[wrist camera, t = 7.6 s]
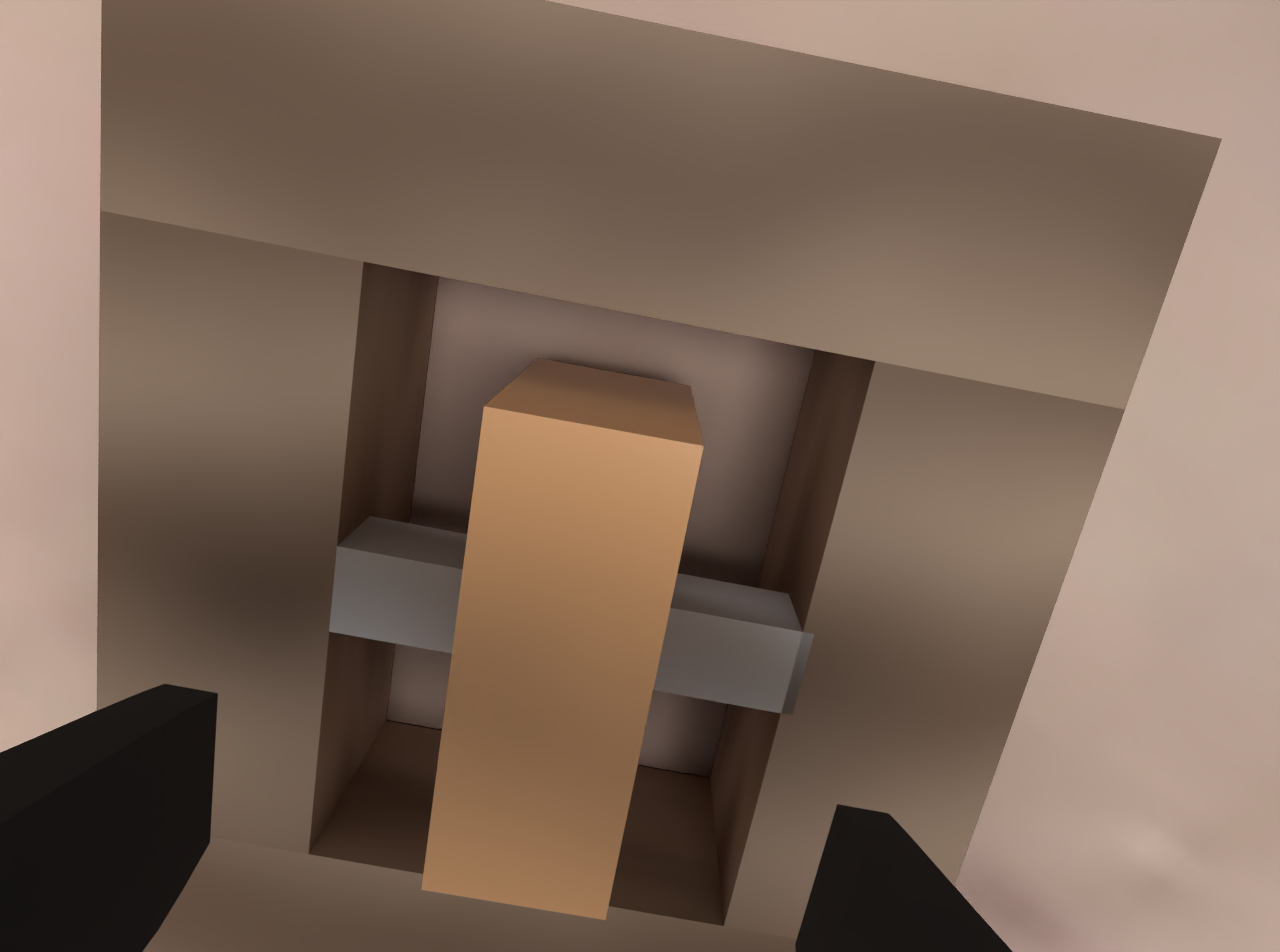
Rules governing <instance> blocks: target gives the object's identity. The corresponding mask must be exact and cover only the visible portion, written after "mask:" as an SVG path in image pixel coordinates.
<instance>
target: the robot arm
mask: <svg viewBox="0 0 1280 952" xmlns="http://www.w3.org/2000/svg"><path fill="white" fill-rule="evenodd" d="M217 703H218V693H214V692H209V691H203V690H198V689H192V688H187V687H181V686H175V685H170V684H162V685H160V686H157V687H154V688H151V689H149V690H146V691H143V692H141V693H138V694H136V695H133V696H131V697H128V698H126V699H124V700H121V701H119V702H116V703H114V704H112V705H109V706H107V707H105V708H102V709H100V710H98V711H95V712H93V713H91V714H88V715H86V716H84V717H82V718H79V719H77V720H75V721H72V722H70V723H68V724H66V725H63V726H61V727H59V728H56V729H54V730H52V731H50V732H47V733H45V734H43V735H40V736H38V737H36V738H33V739H31V740H29V741H27V742H24V743H22V744H20V745H17V746H15V747H13V748H10V749H8V750H6V751H3V752H1V753H0V952H143V950H144V949H145V948H146V946H147V945H148V944H149V942H150V941H151V940H152V938H153V937H154V935H155V934H156V933H157V931H158V930H159V928H160V927H161V925H162V923H163V922H164V920H165V918H166V917H167V915H168V913H169V912H170V910H171V909H172V907H173V905H174V904H175V902H176V900H177V899H178V897H179V895H180V894H181V892H182V891H183V889H184V887H185V885H186V884H187V882H188V880H189V878H190V877H191V875H192V873H193V871H194V870H195V868H196V866H197V864H198V863H199V861H200V859H201V857H202V856H203V854H204V852H205V851H206V849H207V847H208V845H209V844H210V833H211V815H212V796H213V777H214V759H215V740H216V721H217ZM795 949H796V952H1012V951H1011V949H1010V948H1009V947H1008V946H1007V945H1006V944H1005V943H1004V942H1003V941H1002V939H1001V938H1000V937H999V936H998V935H997V934H996V933H995V932H994V931H993V930H992V928H991V927H990V926H989V925H988V924H987V923H986V922H985V921H984V919H983V918H982V917H981V916H980V915H979V914H978V913H977V911H976V910H975V909H974V908H973V907H972V906H971V905H970V904H969V902H968V901H967V900H966V899H965V898H964V897H963V896H962V894H961V893H960V892H959V891H958V890H957V889H956V888H955V886H954V885H953V884H952V883H951V882H950V881H949V880H948V878H947V877H946V876H945V875H944V874H943V873H942V872H941V870H940V869H939V868H938V867H937V866H936V865H935V864H934V862H933V861H932V860H931V859H930V858H929V857H928V856H927V854H926V853H925V852H924V851H923V850H922V849H921V848H920V847H919V845H918V844H917V843H916V842H915V841H914V840H913V839H912V838H911V836H910V835H909V834H908V833H907V832H906V831H905V830H904V829H903V828H902V827H901V825H900V824H899V823H898V822H897V821H896V820H895V819H894V818H893V817H892V816H891V815H890V814H889V813H884V812H879V811H873V810H868V809H862V808H857V807H851V806H845V805H840V804H837V806H836V810H835V813H834V816H833V820H832V823H831V826H830V830H829V833H828V836H827V840H826V843H825V846H824V850H823V853H822V856H821V860H820V863H819V866H818V870H817V873H816V876H815V880H814V883H813V886H812V890H811V893H810V896H809V900H808V903H807V907H806V910H805V913H804V917H803V920H802V923H801V927H800V930H799V933H798V937H797V940H796V943H795Z"/></svg>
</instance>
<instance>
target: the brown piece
mask: <svg viewBox="0 0 1280 952" xmlns="http://www.w3.org/2000/svg"><path fill="white" fill-rule="evenodd" d="M1221 140H1222V139H1220V138H1215V137H1210V136H1205V135H1200V134H1195V133H1190V132H1186V131H1181V130H1176V129H1171V128H1166V127H1161V126H1156V125H1151V124H1146V123H1142V122H1137V121H1132V120H1127V119H1122V118H1117V117H1112V116H1107V115H1102V114H1097V113H1093V112H1088V111H1083V110H1078V109H1073V108H1068V107H1063V106H1058V105H1053V104H1049V103H1044V102H1039V101H1034V100H1029V99H1024V98H1019V97H1014V96H1009V95H1005V94H1000V93H995V92H990V91H985V90H980V89H975V88H970V87H965V86H961V85H956V84H951V83H946V82H941V81H936V80H931V79H926V78H921V77H917V76H912V75H907V74H902V73H897V72H892V71H887V70H882V69H877V68H873V67H868V66H863V65H858V64H853V63H848V62H843V61H838V60H833V59H829V58H824V57H819V56H814V55H809V54H804V53H799V52H794V51H789V50H784V49H780V48H775V47H770V46H765V45H760V44H755V43H750V42H745V41H740V40H736V39H731V38H726V37H721V36H716V35H711V34H706V33H701V32H696V31H692V30H687V29H682V28H677V27H672V26H667V25H662V24H657V23H652V22H648V21H643V20H638V19H633V18H628V17H623V16H618V15H613V14H608V13H604V12H599V11H594V10H589V9H584V8H579V7H574V6H569V5H564V4H560V3H555V2H550V1H545V0H102V31H101V180H100V328H99V477H98V626H97V711H98V710H100V709H102V708H105V707H107V706H109V705H112V704H114V703H116V702H119V701H121V700H124V699H126V698H128V697H131V696H133V695H136V694H138V693H141V692H143V691H146V690H149V689H151V688H154V687H157V686H160V685H162V684H170V685H175V686H181V687H187V688H192V689H198V690H203V691H209V692H214V693H218V703H217V721H216V740H215V759H214V777H213V796H212V815H211V833H210V844H209V845H208V847H207V849H206V851H205V852H204V854H203V856H202V857H201V859H200V861H199V863H198V864H197V866H196V868H195V870H194V871H193V873H192V875H191V877H190V878H189V880H188V882H187V884H186V885H185V887H184V889H183V891H182V892H181V894H180V895H179V897H178V899H177V900H176V902H175V904H174V905H173V907H172V909H171V910H170V912H169V913H168V915H167V917H166V918H165V920H164V922H163V923H162V925H161V927H160V928H159V930H158V931H157V933H156V934H155V935H154V937H153V938H152V940H151V941H150V942H149V944H148V945H147V946H146V948H145V949H144V950H143V952H796V949H795V943H796V940H797V937H798V933H799V930H800V927H801V923H802V920H803V917H804V913H805V910H806V907H807V903H808V900H809V896H810V893H811V890H812V886H813V883H814V880H815V876H816V873H817V870H818V866H819V863H820V860H821V856H822V853H823V850H824V846H825V843H826V840H827V836H828V833H829V830H830V826H831V823H832V820H833V816H834V813H835V810H836V806H837V804H840V805H845V806H851V807H857V808H862V809H868V810H873V811H879V812H884V813H889V814H890V815H891V816H892V817H893V818H894V819H895V820H896V821H897V822H898V823H899V824H900V825H901V827H902V828H903V829H904V830H905V831H906V832H907V833H908V834H909V835H910V836H911V838H912V839H913V840H914V841H915V842H916V843H917V844H918V845H919V847H920V848H921V849H922V850H923V851H924V852H925V853H926V854H927V856H928V857H929V858H930V859H931V860H932V861H933V862H934V864H935V865H936V866H937V867H938V868H939V869H940V870H941V872H942V873H943V874H944V875H945V876H946V877H947V878H948V880H949V881H950V882H951V883H952V884H953V885H955V882H956V880H957V877H958V874H959V871H960V868H961V866H962V863H963V860H964V857H965V854H966V852H967V849H968V846H969V843H970V841H971V838H972V835H973V832H974V829H975V827H976V824H977V821H978V818H979V815H980V813H981V810H982V807H983V804H984V801H985V799H986V796H987V793H988V790H989V788H990V785H991V782H992V779H993V776H994V774H995V771H996V768H997V765H998V762H999V760H1000V757H1001V754H1002V751H1003V748H1004V746H1005V743H1006V740H1007V737H1008V734H1009V732H1010V729H1011V726H1012V723H1013V721H1014V718H1015V715H1016V712H1017V709H1018V707H1019V704H1020V701H1021V698H1022V695H1023V693H1024V690H1025V687H1026V684H1027V681H1028V679H1029V676H1030V673H1031V670H1032V667H1033V665H1034V662H1035V659H1036V656H1037V654H1038V651H1039V648H1040V645H1041V642H1042V640H1043V637H1044V634H1045V631H1046V628H1047V626H1048V623H1049V620H1050V617H1051V614H1052V612H1053V609H1054V606H1055V603H1056V601H1057V598H1058V595H1059V592H1060V589H1061V587H1062V584H1063V581H1064V578H1065V575H1066V573H1067V570H1068V567H1069V564H1070V561H1071V559H1072V556H1073V553H1074V550H1075V547H1076V545H1077V542H1078V539H1079V536H1080V534H1081V531H1082V528H1083V525H1084V522H1085V520H1086V517H1087V514H1088V511H1089V508H1090V506H1091V503H1092V500H1093V497H1094V494H1095V492H1096V489H1097V486H1098V483H1099V480H1100V478H1101V475H1102V472H1103V469H1104V467H1105V464H1106V461H1107V458H1108V455H1109V453H1110V450H1111V447H1112V444H1113V441H1114V439H1115V436H1116V433H1117V430H1118V427H1119V425H1120V422H1121V419H1122V416H1123V414H1124V411H1125V408H1126V405H1127V402H1128V400H1129V397H1130V394H1131V391H1132V388H1133V386H1134V383H1135V380H1136V377H1137V374H1138V372H1139V369H1140V366H1141V363H1142V360H1143V358H1144V355H1145V352H1146V349H1147V347H1148V344H1149V341H1150V338H1151V335H1152V333H1153V330H1154V327H1155V324H1156V321H1157V319H1158V316H1159V313H1160V310H1161V307H1162V305H1163V302H1164V299H1165V296H1166V293H1167V291H1168V288H1169V285H1170V282H1171V280H1172V277H1173V274H1174V271H1175V268H1176V266H1177V263H1178V260H1179V257H1180V254H1181V252H1182V249H1183V246H1184V243H1185V240H1186V238H1187V235H1188V232H1189V229H1190V227H1191V224H1192V221H1193V218H1194V215H1195V213H1196V210H1197V207H1198V204H1199V201H1200V199H1201V196H1202V193H1203V190H1204V187H1205V185H1206V182H1207V179H1208V176H1209V173H1210V171H1211V168H1212V165H1213V162H1214V160H1215V157H1216V154H1217V151H1218V148H1219V146H1220V143H1221ZM438 276H440V277H445V278H451V279H456V280H461V281H466V282H471V283H476V284H481V285H487V286H492V287H497V288H502V289H507V290H512V291H518V292H523V293H528V294H533V295H538V296H543V297H548V298H554V299H559V300H564V301H569V302H574V303H579V304H584V305H590V306H595V307H600V308H605V309H610V310H615V311H621V312H626V313H631V314H636V315H641V316H646V317H651V318H657V319H662V320H667V321H672V322H677V323H682V324H687V325H693V326H698V327H703V328H708V329H713V330H718V331H724V332H729V333H734V334H739V335H744V336H749V337H754V338H760V339H765V340H770V341H775V342H780V343H785V344H790V345H796V346H801V347H806V348H811V349H816V352H815V356H814V360H813V364H812V368H811V372H810V376H809V380H808V384H807V388H806V392H805V396H804V400H803V404H802V408H801V412H800V416H799V420H798V424H797V428H796V432H795V436H794V440H793V445H792V449H791V453H790V457H789V461H788V465H787V469H786V473H785V477H784V481H783V485H782V489H781V493H780V497H779V501H778V505H777V509H776V513H775V517H774V521H773V525H772V529H771V533H770V538H769V542H768V546H767V550H766V554H765V558H764V562H763V566H762V570H761V574H760V578H759V582H758V586H757V588H755V587H750V586H744V585H739V584H733V583H728V582H723V581H717V580H712V579H706V578H701V577H696V576H690V575H685V574H679V573H677V578H676V583H675V587H674V592H673V597H672V602H671V607H670V611H669V616H668V621H667V626H666V631H665V636H664V640H663V645H662V650H661V655H660V660H659V665H658V669H657V674H656V679H655V684H654V689H653V690H655V691H660V692H666V693H671V694H677V695H682V696H688V697H693V698H699V699H704V700H710V701H715V702H721V703H726V704H728V707H727V711H726V715H725V719H724V723H723V728H722V732H721V736H720V740H719V744H718V748H717V752H716V756H715V760H714V764H713V768H712V772H711V776H710V778H704V777H699V776H693V775H688V774H682V773H676V772H671V771H665V770H660V769H654V768H648V767H643V766H637V771H636V775H635V780H634V785H633V790H632V795H631V800H630V804H629V809H628V814H627V819H626V824H625V829H624V833H623V838H622V843H621V848H620V853H619V857H618V862H617V867H616V872H615V877H614V882H613V886H612V891H611V896H610V901H609V906H608V911H607V915H606V920H601V919H595V918H589V917H583V916H577V915H571V914H565V913H559V912H553V911H547V910H541V909H535V908H529V907H523V906H517V905H511V904H505V903H498V902H492V901H486V900H480V899H474V898H468V897H462V896H456V895H450V894H444V893H438V892H432V891H426V890H421V889H422V881H423V873H424V865H425V858H426V850H427V842H428V834H429V827H430V819H431V811H432V803H433V796H434V788H435V780H436V773H437V765H438V757H439V749H440V742H441V734H442V731H441V730H435V729H430V728H424V727H419V726H413V725H407V724H402V723H396V722H391V721H386V717H387V708H388V700H389V691H390V683H391V674H392V666H393V657H394V649H395V644H401V645H406V646H412V647H417V648H423V649H428V650H434V651H439V652H445V653H450V654H452V649H453V641H454V633H455V626H456V618H457V610H458V602H459V595H460V587H461V579H462V571H463V564H464V556H465V548H466V540H467V534H464V533H458V532H453V531H448V530H442V529H437V528H431V527H426V526H421V525H415V524H410V523H409V521H410V513H411V504H412V496H413V487H414V479H415V470H416V462H417V453H418V445H419V436H420V428H421V419H422V411H423V402H424V394H425V385H426V377H427V368H428V360H429V351H430V343H431V334H432V326H433V317H434V309H435V300H436V292H437V283H438Z"/></svg>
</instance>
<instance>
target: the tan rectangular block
mask: <svg viewBox="0 0 1280 952" xmlns="http://www.w3.org/2000/svg"><path fill="white" fill-rule="evenodd" d="M703 447H704V445H703V440H702V436H701V431H700V427H699V422H698V418H697V413H696V409H695V404H694V400H693V396H692V391H691V387H690V386H688V385H682V384H677V383H672V382H666V381H661V380H655V379H650V378H644V377H639V376H633V375H628V374H622V373H617V372H611V371H606V370H601V369H595V368H590V367H584V366H579V365H573V364H568V363H562V362H557V361H551V360H546V359H540V358H537V359H536V360H535V361H534V362H533V363H532V364H531V365H530V366H528V367H527V368H526V369H525V370H524V371H523V372H522V373H521V374H519V375H518V376H517V377H516V378H515V379H514V380H513V381H512V382H510V383H509V384H508V385H507V386H506V387H505V388H504V389H503V390H501V391H500V392H499V393H498V394H497V395H496V396H495V397H494V398H492V399H491V400H490V401H489V402H488V403H487V404H486V405H485V406H484V409H483V417H482V424H481V432H480V440H479V448H478V455H477V463H476V471H475V479H474V486H473V494H472V502H471V510H470V517H469V525H468V533H467V540H466V548H465V556H464V564H463V571H462V579H461V587H460V595H459V602H458V610H457V618H456V626H455V633H454V641H453V649H452V656H451V664H450V672H449V680H448V687H447V695H446V703H445V711H444V718H443V726H442V734H441V742H440V749H439V757H438V765H437V773H436V780H435V788H434V796H433V803H432V811H431V819H430V827H429V834H428V842H427V850H426V858H425V865H424V873H423V881H422V889H421V890H426V891H432V892H438V893H444V894H450V895H456V896H462V897H468V898H474V899H480V900H486V901H492V902H498V903H505V904H511V905H517V906H523V907H529V908H535V909H541V910H547V911H553V912H559V913H565V914H571V915H577V916H583V917H589V918H595V919H601V920H606V915H607V911H608V906H609V901H610V896H611V891H612V886H613V882H614V877H615V872H616V867H617V862H618V857H619V853H620V848H621V843H622V838H623V833H624V829H625V824H626V819H627V814H628V809H629V804H630V800H631V795H632V790H633V785H634V780H635V775H636V771H637V766H638V761H639V756H640V751H641V747H642V742H643V737H644V732H645V727H646V722H647V718H648V713H649V708H650V703H651V698H652V693H653V689H654V684H655V679H656V674H657V669H658V665H659V660H660V655H661V650H662V645H663V640H664V636H665V631H666V626H667V621H668V616H669V611H670V607H671V602H672V597H673V592H674V587H675V583H676V578H677V573H678V568H679V563H680V558H681V554H682V549H683V544H684V539H685V534H686V529H687V525H688V520H689V515H690V510H691V505H692V501H693V496H694V491H695V486H696V481H697V476H698V472H699V467H700V462H701V457H702V452H703Z"/></svg>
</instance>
